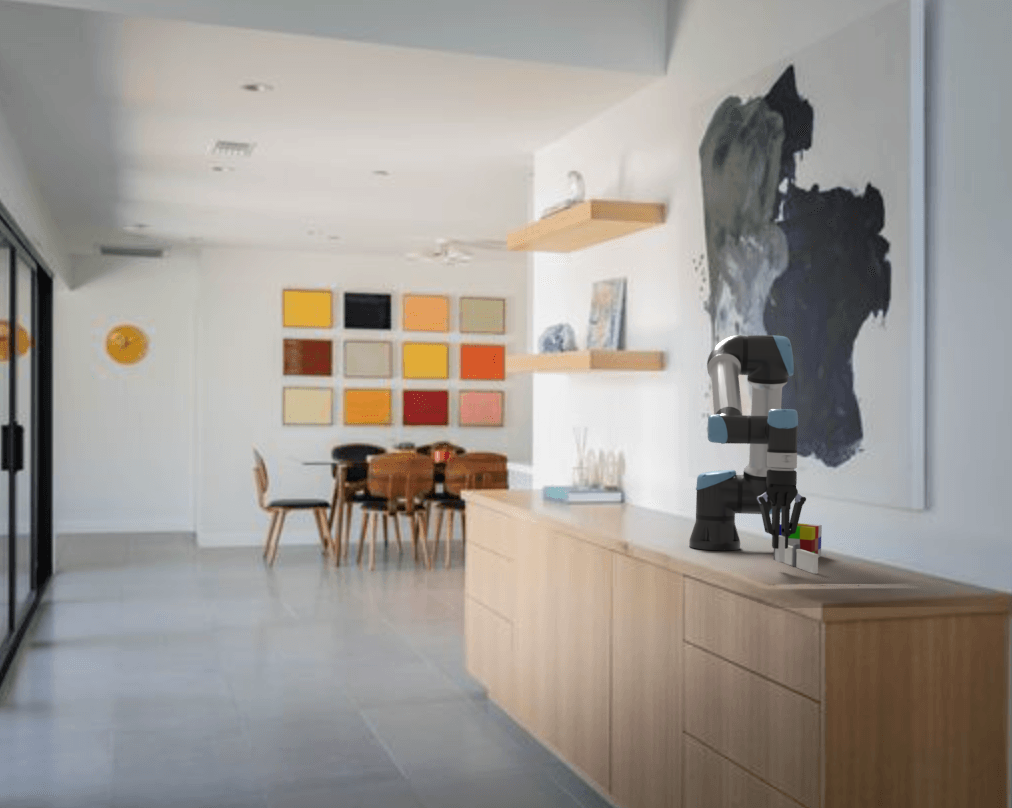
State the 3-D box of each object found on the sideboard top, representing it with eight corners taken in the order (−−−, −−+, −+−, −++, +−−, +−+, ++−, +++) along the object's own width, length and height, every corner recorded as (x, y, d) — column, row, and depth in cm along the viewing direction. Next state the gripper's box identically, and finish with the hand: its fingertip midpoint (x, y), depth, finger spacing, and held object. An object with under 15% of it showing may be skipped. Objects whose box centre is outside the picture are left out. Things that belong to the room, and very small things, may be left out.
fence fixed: (772, 563, 321) (772, 537, 321) (778, 563, 321) (779, 537, 321) (794, 571, 306) (794, 544, 306) (800, 571, 307) (801, 544, 307)
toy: (821, 560, 329) (821, 525, 329) (811, 564, 321) (811, 528, 321) (786, 557, 334) (787, 522, 334) (775, 561, 326) (776, 525, 326)
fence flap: (795, 567, 306) (796, 549, 306) (800, 567, 306) (801, 549, 306) (812, 573, 296) (813, 554, 295) (818, 573, 296) (818, 554, 296)
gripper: (763, 470, 293) (761, 563, 293) (811, 470, 295) (809, 563, 296) (752, 468, 301) (750, 559, 301) (799, 468, 303) (797, 559, 303)
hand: (779, 561), depth 298 cm, fingers closed
